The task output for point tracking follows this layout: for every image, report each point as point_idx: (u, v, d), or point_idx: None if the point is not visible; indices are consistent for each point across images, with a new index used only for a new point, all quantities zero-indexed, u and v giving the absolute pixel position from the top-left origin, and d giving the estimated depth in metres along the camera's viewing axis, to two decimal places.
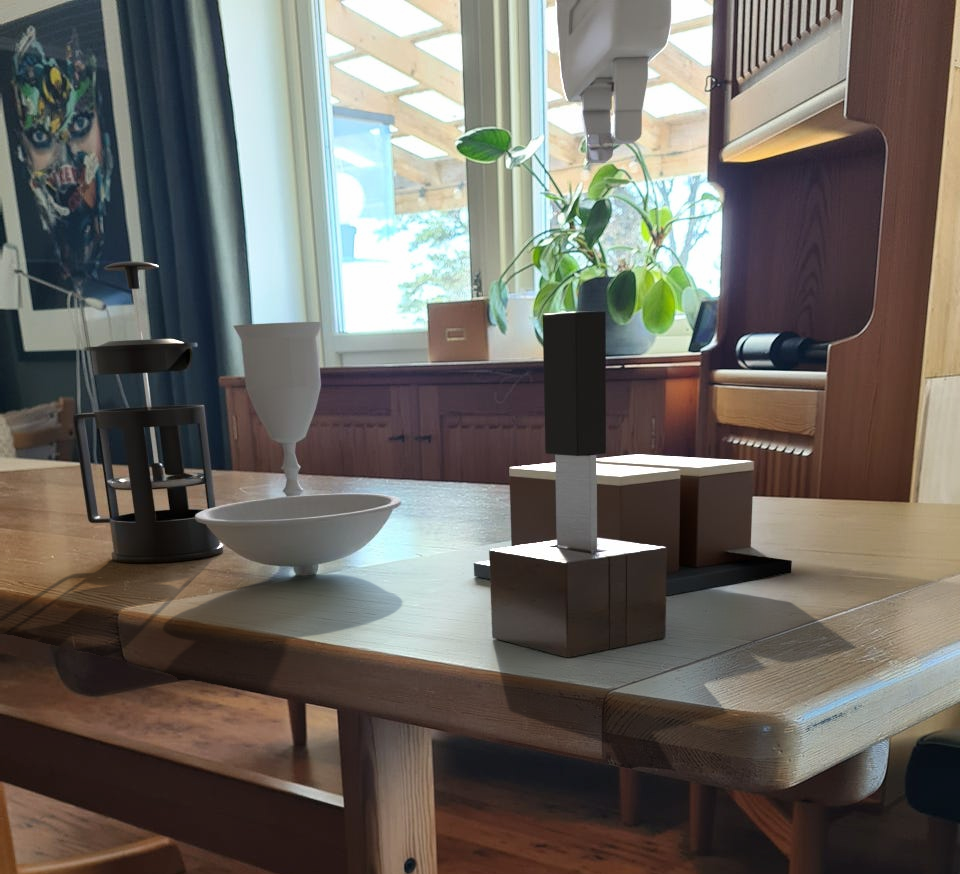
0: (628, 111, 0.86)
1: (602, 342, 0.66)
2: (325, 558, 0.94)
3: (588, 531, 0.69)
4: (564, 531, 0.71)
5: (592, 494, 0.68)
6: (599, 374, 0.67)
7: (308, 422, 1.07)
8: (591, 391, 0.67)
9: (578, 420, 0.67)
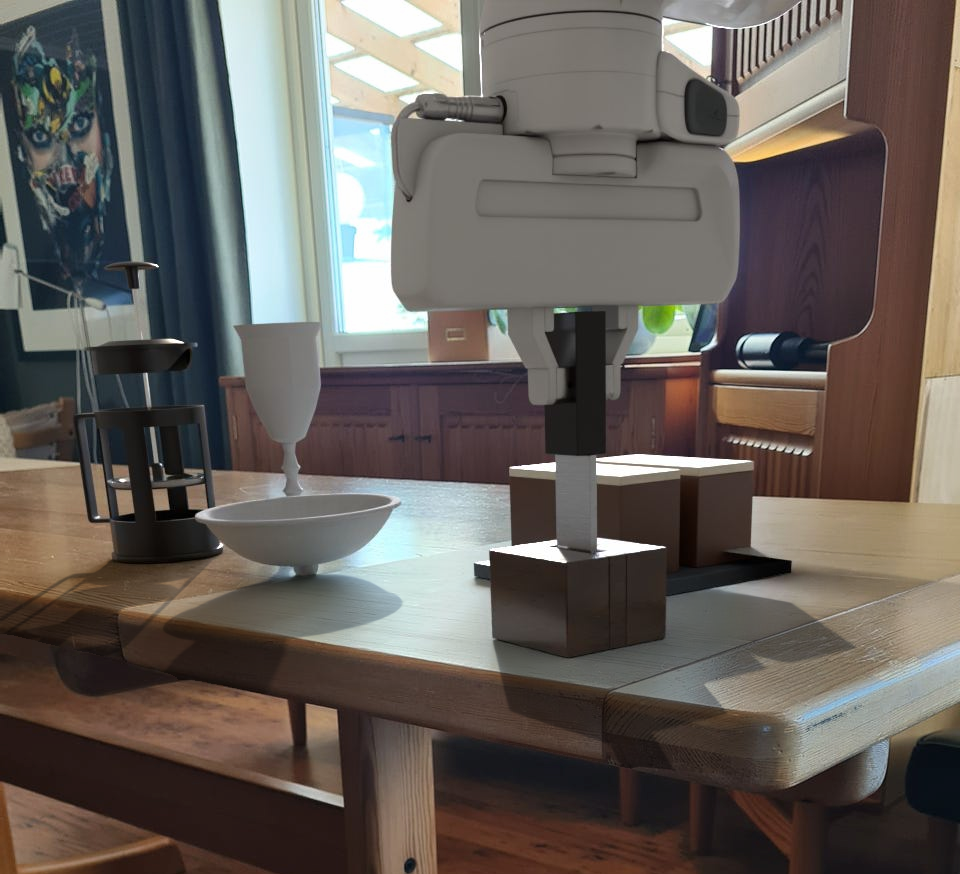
0: (536, 369, 0.66)
1: (602, 342, 0.66)
2: (325, 558, 0.94)
3: (588, 531, 0.69)
4: (564, 531, 0.71)
5: (592, 494, 0.68)
6: (599, 374, 0.67)
7: (308, 422, 1.07)
8: (591, 391, 0.67)
9: (578, 420, 0.67)
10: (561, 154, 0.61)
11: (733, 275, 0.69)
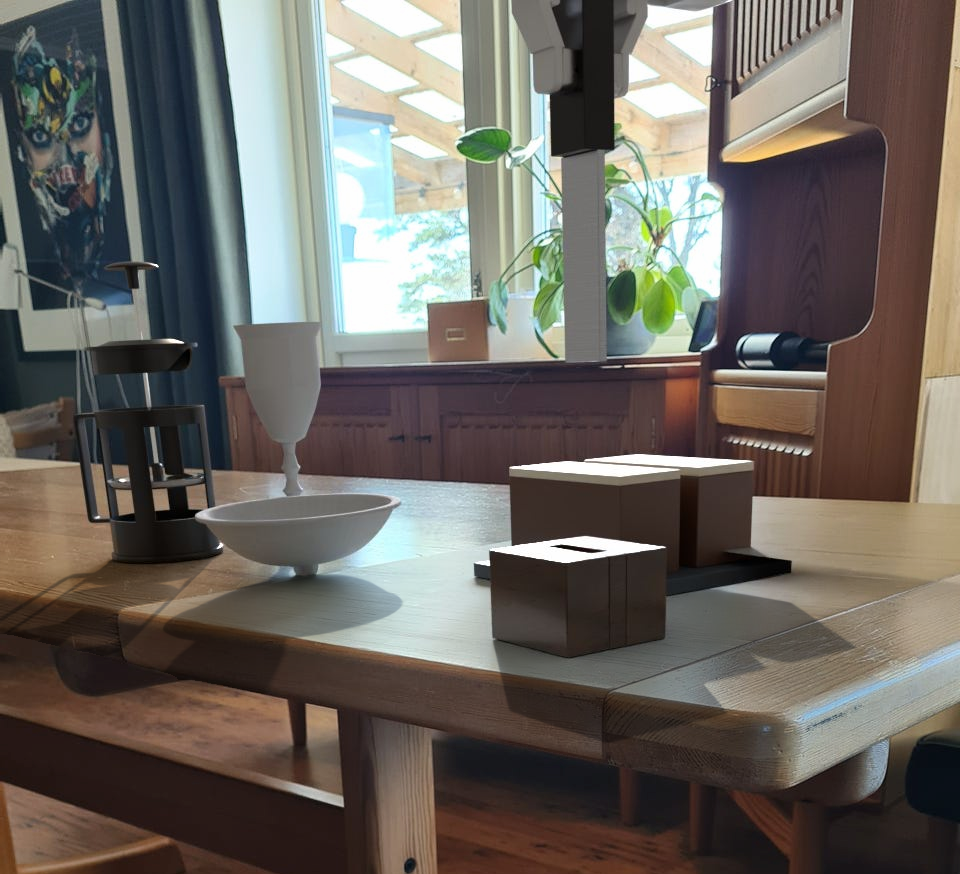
0: (542, 51, 0.63)
1: (610, 23, 0.63)
2: (325, 558, 0.94)
3: (596, 236, 0.66)
4: (571, 243, 0.68)
5: (600, 193, 0.65)
6: (607, 59, 0.64)
7: (308, 422, 1.07)
8: (599, 77, 0.64)
9: (586, 108, 0.64)
10: None
11: None
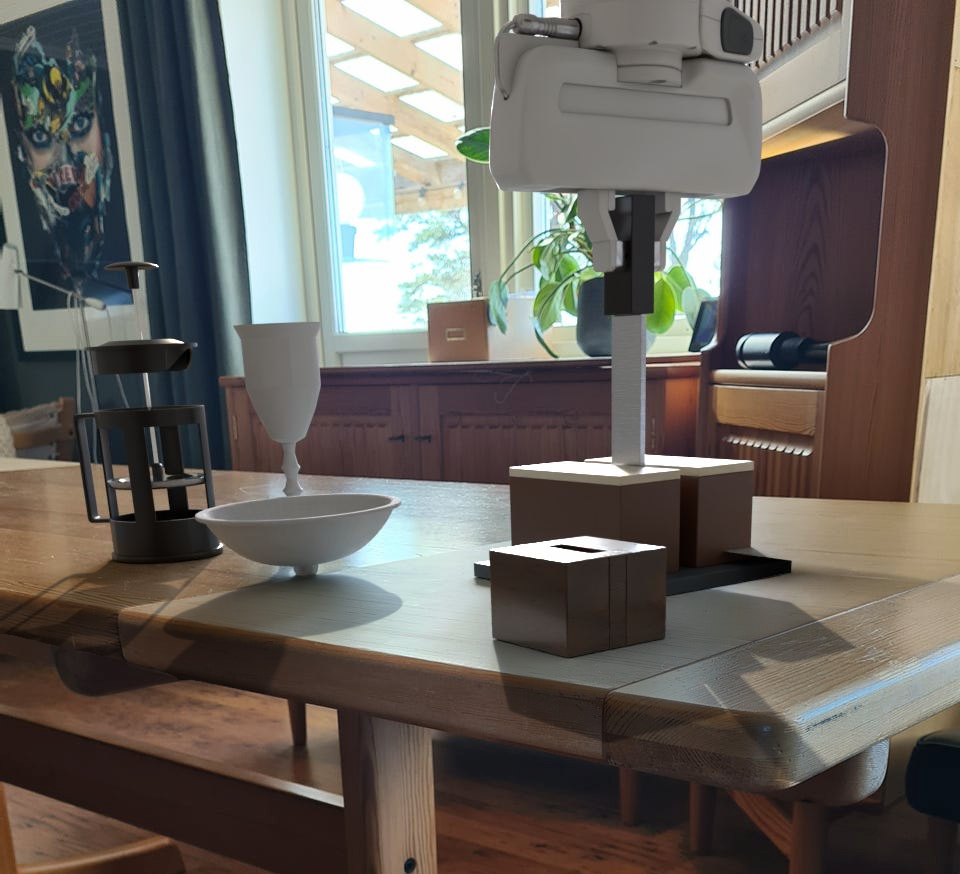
0: (600, 242, 0.82)
1: (652, 221, 0.83)
2: (325, 557, 0.94)
3: (638, 378, 0.86)
4: (618, 380, 0.87)
5: (642, 346, 0.85)
6: (649, 247, 0.83)
7: (308, 422, 1.07)
8: (643, 261, 0.83)
9: (632, 284, 0.83)
10: (624, 65, 0.77)
11: (756, 172, 0.86)
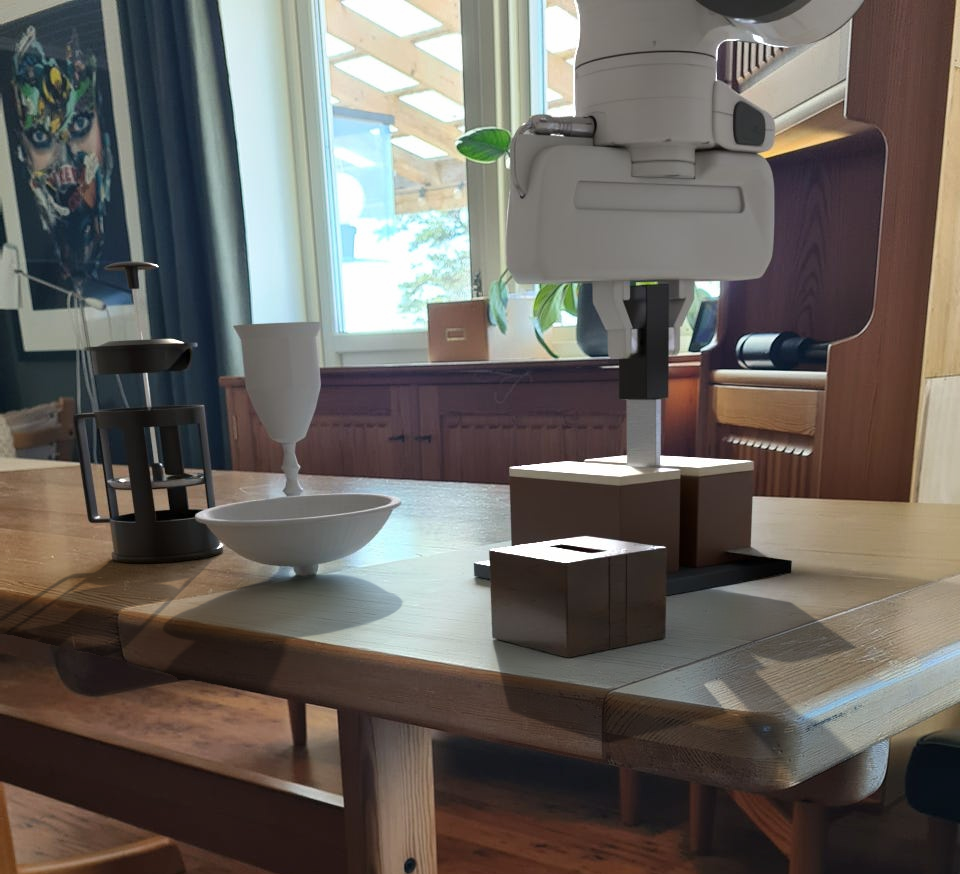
0: (615, 330, 0.83)
1: (666, 309, 0.84)
2: (325, 558, 0.94)
3: (653, 461, 0.87)
4: (633, 462, 0.88)
5: (657, 430, 0.86)
6: (663, 334, 0.84)
7: (308, 422, 1.07)
8: (657, 348, 0.84)
9: (647, 371, 0.84)
10: (638, 161, 0.78)
11: (769, 256, 0.87)
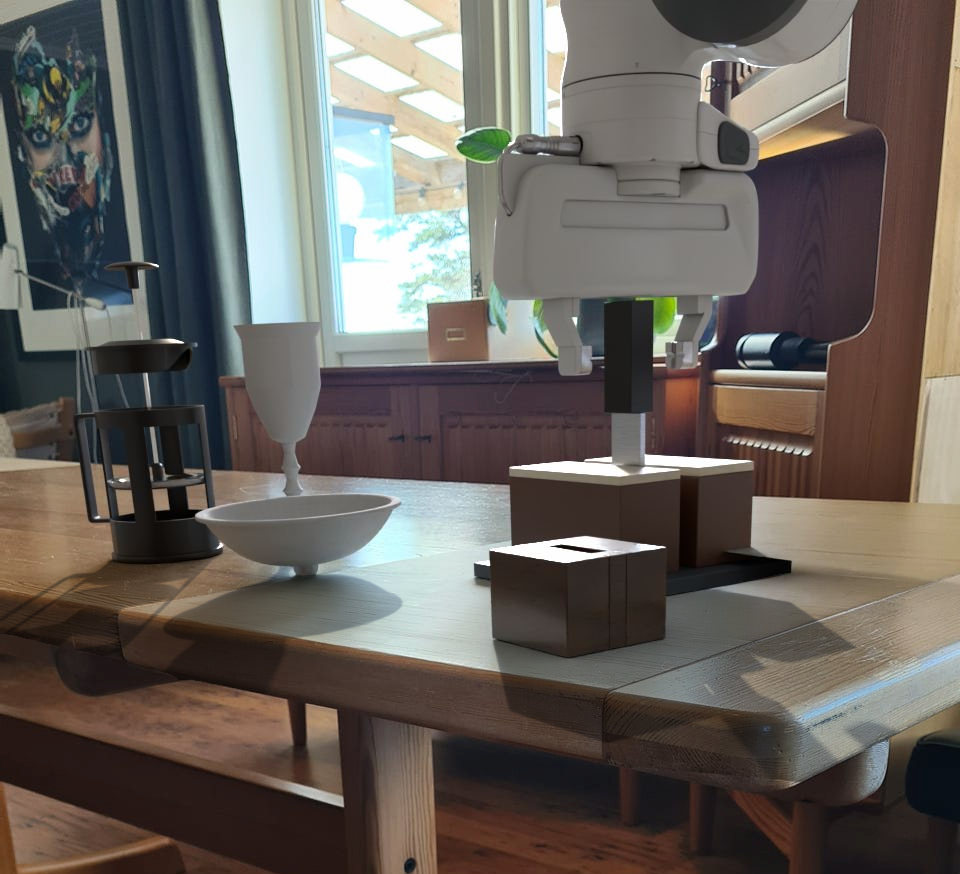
0: (565, 347, 0.83)
1: (651, 324, 0.85)
2: (325, 557, 0.94)
3: None
4: None
5: (641, 444, 0.87)
6: (648, 349, 0.85)
7: (308, 422, 1.07)
8: (642, 362, 0.85)
9: (632, 385, 0.85)
10: (624, 179, 0.80)
11: (753, 272, 0.88)
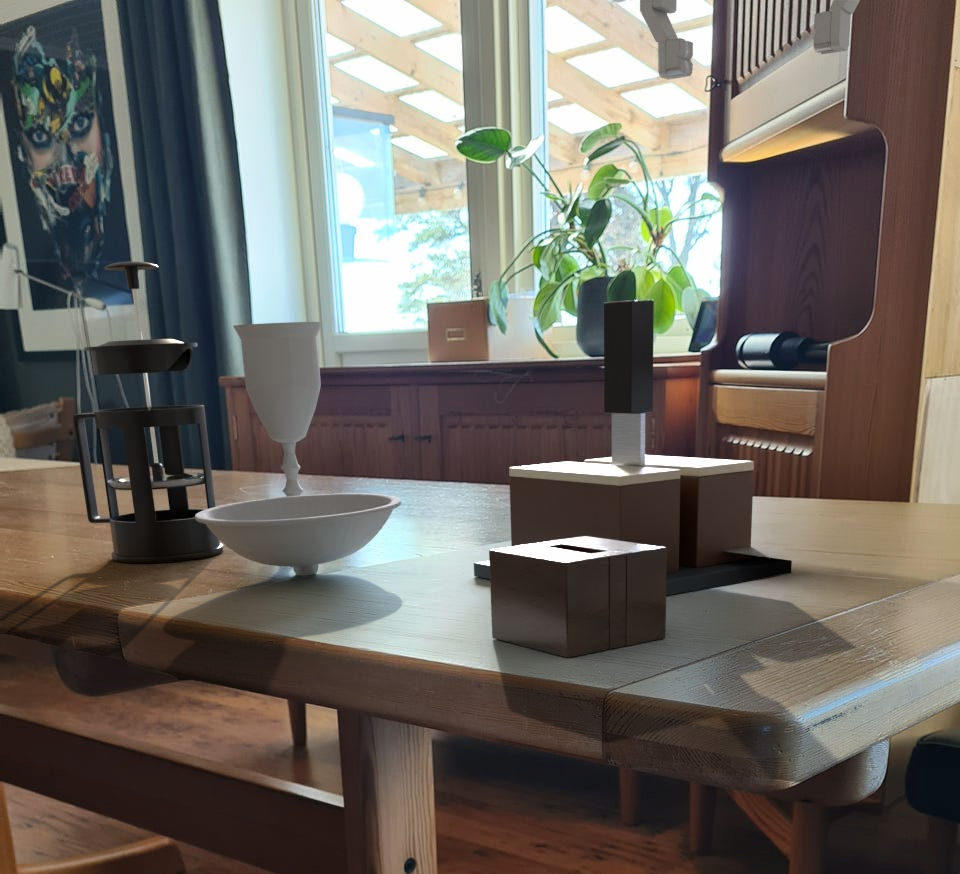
0: (846, 12, 0.70)
1: (651, 324, 0.85)
2: (325, 557, 0.94)
3: None
4: None
5: (641, 444, 0.87)
6: (648, 349, 0.85)
7: (308, 422, 1.07)
8: (642, 362, 0.85)
9: (632, 385, 0.85)
10: None
11: None
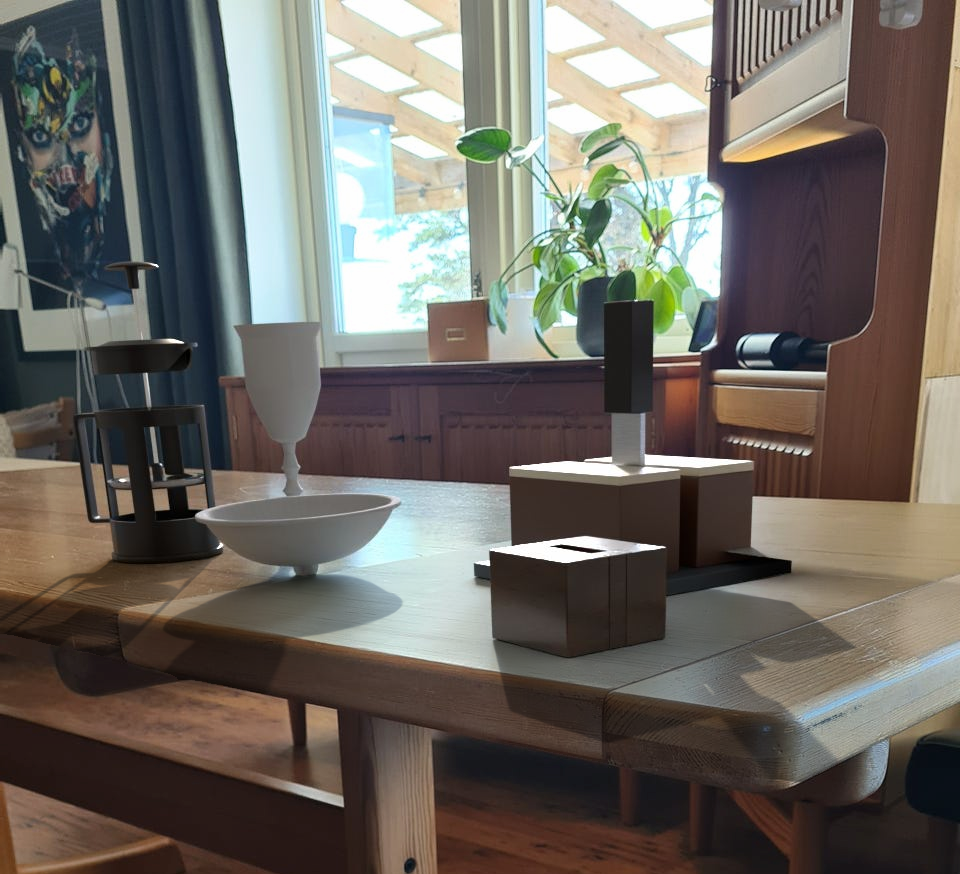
0: None
1: (651, 324, 0.85)
2: (325, 558, 0.94)
3: None
4: None
5: (641, 444, 0.87)
6: (648, 349, 0.85)
7: (308, 422, 1.07)
8: (642, 362, 0.85)
9: (632, 385, 0.85)
10: None
11: None
